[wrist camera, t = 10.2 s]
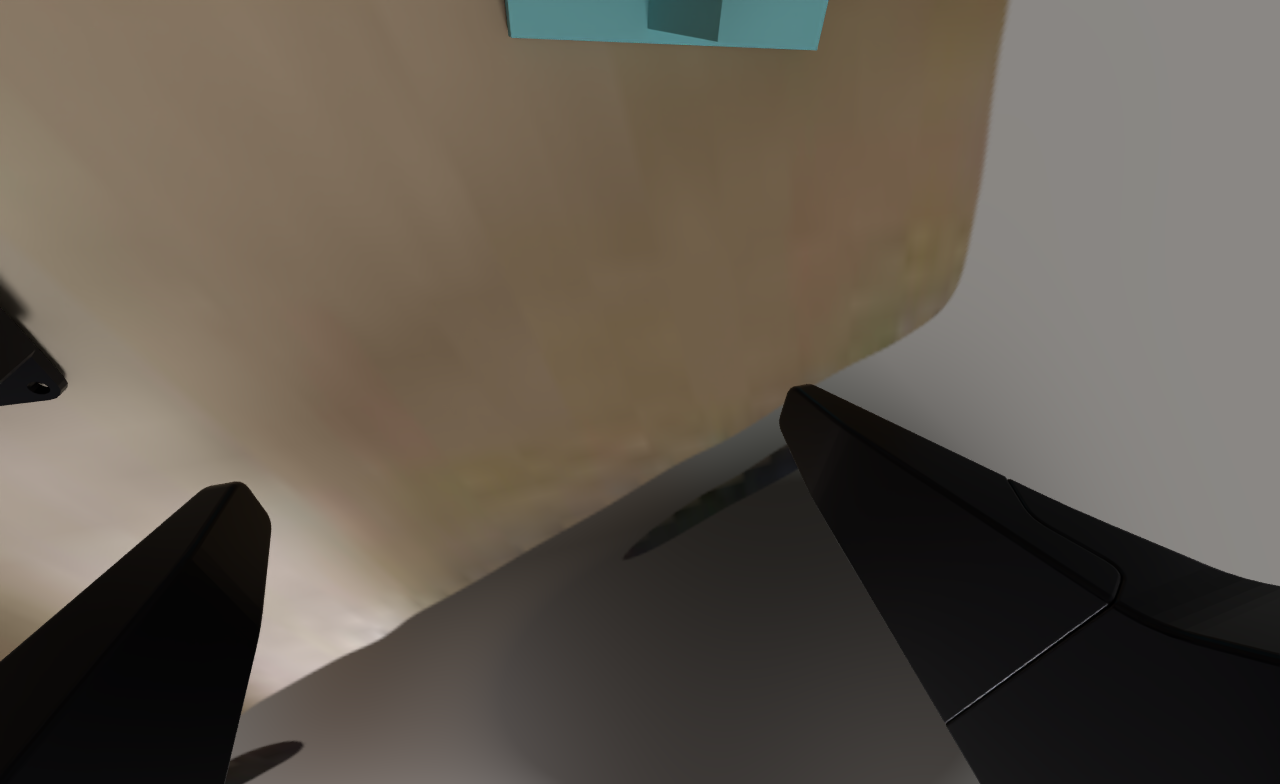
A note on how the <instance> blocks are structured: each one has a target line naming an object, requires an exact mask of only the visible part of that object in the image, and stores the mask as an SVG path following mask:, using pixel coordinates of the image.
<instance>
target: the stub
mask: <svg viewBox="0 0 1280 784" xmlns="http://www.w3.org/2000/svg"><path fill="white" fill-rule="evenodd" d="M827 4H828V0H505V5H506V15H507V25H508V35H509V36H510V37H511V38H533V39H557V40H582V41H606V42H630V43H654V44H678V45H703V46H727V47H751V48H775V49H799V50H817V47H818V43H819V39H820V34H821V30H822V26H823V22H824V17H825V13H826V9H827Z"/></svg>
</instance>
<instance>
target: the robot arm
mask: <svg viewBox="0 0 1280 784" xmlns="http://www.w3.org/2000/svg"><path fill="white" fill-rule="evenodd" d="M37 382H40V383H43V384H45V385H47V386H48V387H46V386H42V385H40V384H38V383H37ZM67 386H68V383H67V381H66V379H65V378H64V377H63V376H62V374H61V373H60V372H59V371H58V370H57V369H56V368H55V367H54V366H53V365H52V363H51V362H50V361H49V360H48V359H47V358H46V357H45V356H44V355H43V353H42V352H41V351H40V350H39V349H38V348H37V347H36V346H35V345H34V344H33V342H32V341H31V340H30V339H29V338H28V337H27V336H26V335H25V334H24V332H23V331H22V330H21V329H20V328H19V327H18V326H17V325H16V324H15V323H14V321H13V320H12V319H11V318H10V317H9V316H8V315H7V314H6V313H5V311H4V310H3V309H2V308H1V307H0V406H4V405H12V404H20V403H29V402H37V401H45V400H51V399H55V398H57V397H58V396H59V395H61V394H62V393H63V391H64V390H65V389H66V388H67ZM779 424H780V429H781V432H782V434H783V436H784V438H785V441H786V443H787V445H788V447H789V449H790V452H791V454H792V456H793V458H794V460H795V462H796V465H797V467H798V469H799V471H800V473H801V476H802V478H803V480H804V482H805V484H806V486H807V488H808V490H809V493H810V495H811V496H812V498H813V500H814V502H815V504H816V505H817V507H818V509H819V511H820V512H821V514H822V515H823V517H824V519H825V521H826V522H827V524H828V526H829V528H830V529H831V531H832V533H833V534H834V536H835V538H836V539H837V541H838V543H839V544H840V546H841V548H842V549H843V551H844V553H845V555H846V556H847V558H848V560H849V561H850V563H851V565H852V567H853V568H854V570H855V571H856V573H857V575H858V577H859V579H860V580H861V582H862V584H863V585H864V587H865V589H866V590H867V592H868V594H869V595H870V597H871V599H872V600H873V602H874V604H875V605H876V607H877V609H878V611H879V612H880V614H881V616H882V617H883V619H884V621H885V623H886V624H887V626H888V628H889V629H890V631H891V633H892V634H893V636H894V638H895V639H896V641H897V643H898V645H899V646H900V648H901V650H902V651H903V653H904V655H905V657H906V658H907V660H908V661H909V663H910V665H911V667H912V668H913V670H914V672H915V674H916V675H917V677H918V678H919V680H920V682H921V684H922V685H923V687H924V689H925V690H926V692H927V694H928V696H929V697H930V699H931V701H932V702H933V704H934V706H935V707H936V709H937V711H938V713H939V714H940V716H941V718H942V719H943V721H944V722H945V723H946V727H947V728H948V730H949V732H950V734H951V735H952V737H953V739H954V740H955V742H956V744H957V745H958V747H959V749H960V750H961V752H962V754H963V755H964V757H965V759H966V761H967V762H968V764H969V766H970V767H971V769H972V771H973V773H974V774H975V776H976V778H977V779H978V781H979V783H980V784H1280V586H1276V585H1271V584H1266V583H1262V582H1258V581H1254V580H1250V579H1245V578H1242V577H1239V576H1236V575H1233V574H1230V573H1226V572H1224V571H1221V570H1218V569H1216V568H1213V567H1210V566H1208V565H1206V564H1203V563H1201V562H1199V561H1196V560H1194V559H1191V558H1189V557H1187V556H1184V555H1182V554H1180V553H1177V552H1175V551H1172V550H1170V549H1168V548H1165V547H1163V546H1160V545H1158V544H1156V543H1153V542H1151V541H1149V540H1146V539H1144V538H1141V537H1139V536H1137V535H1134V534H1131V533H1129V532H1127V531H1125V530H1122V529H1120V528H1118V527H1115V526H1112V525H1110V524H1108V523H1106V522H1103V521H1101V520H1098V519H1096V518H1094V517H1092V516H1090V515H1087V514H1085V513H1082V512H1080V511H1078V510H1075V509H1073V508H1071V507H1068V506H1067V505H1064V504H1062V503H1060V502H1058V501H1056V500H1053V499H1051V498H1049V497H1047V496H1045V495H1043V494H1041V493H1038V492H1036V491H1034V490H1032V489H1030V488H1028V487H1026V486H1024V485H1022V484H1020V483H1018V482H1016V481H1013V480H1011V479H1008V480H1007V478H1006V477H1005V476H1003V475H1001V474H999V473H997V472H994V471H992V470H990V469H988V468H986V467H984V466H982V465H980V464H978V463H976V462H974V461H971V460H969V459H967V458H965V457H963V456H961V455H959V454H957V453H955V452H952V451H950V450H948V449H946V448H944V447H942V446H940V445H938V444H936V443H934V442H932V441H930V440H927V439H925V438H923V437H921V436H919V435H917V434H915V433H913V432H911V431H909V430H907V429H904V428H902V427H900V426H898V425H896V424H894V423H892V422H890V421H888V420H885V419H883V418H882V417H879V416H877V415H875V414H873V413H871V412H869V411H867V410H865V409H863V408H861V407H859V406H856V405H854V404H852V403H850V402H848V401H846V400H844V399H842V398H840V397H837V396H836V395H833V394H831V393H829V392H827V391H825V390H823V389H821V388H819V387H817V386H815V385H812V384H806V385H800V386H794V387H792V388H791V389H790V390H789V391H788V393H787V396H786V399H785V402H784V405H783V408H782V412H781V415H780V419H779ZM270 538H271V522H270V518H269V516H268V514H267V512H266V511H265V510H264V508H263V507H262V505H261V504H260V503H259V501H258V500H257V499H256V497H255V496H254V495H253V493H252V492H251V490H250V489H249V488H248V487H247V486H246V485H245V484H244V483H242V482H230V483H224V484H218V485H213V486H209V487H206V488H204V489H202V490H201V491H200V492H198V493H197V494H196V495H195V496H194V497H192V498H191V499H190V500H189V501H188V502H187V503H185V504H184V505H183V506H182V507H181V508H180V509H178V510H177V511H176V512H175V513H174V514H173V515H171V516H170V517H169V518H168V519H167V520H166V521H164V522H163V523H162V524H161V525H160V526H158V527H157V528H156V529H155V530H154V531H153V532H151V533H150V534H149V535H148V536H147V537H146V538H144V539H143V540H142V541H141V542H140V543H139V544H137V545H136V546H135V547H134V548H133V549H132V550H130V551H129V552H128V553H127V554H126V555H125V556H123V557H122V558H121V559H120V560H119V561H118V562H116V563H115V564H114V565H113V566H112V567H110V568H109V569H108V570H107V571H106V572H105V573H103V574H102V575H101V576H100V577H99V578H98V579H96V580H95V581H94V582H93V583H92V584H91V585H89V586H88V587H87V588H86V589H85V590H84V591H82V592H81V593H80V594H79V595H78V596H77V597H75V598H74V599H73V600H72V601H71V602H70V603H68V604H67V605H66V606H65V607H64V608H62V609H61V610H60V611H59V612H58V613H57V614H55V615H54V616H53V617H52V618H51V619H50V620H48V621H47V622H46V623H45V624H44V625H43V626H41V627H40V628H39V629H38V630H37V631H36V632H34V633H33V634H32V635H31V636H30V637H29V638H27V639H26V640H25V641H24V642H23V643H22V644H20V645H19V646H18V647H17V648H16V649H14V650H13V651H12V652H11V653H10V654H9V655H7V656H6V657H5V658H4V659H3V660H2V661H0V784H224V783H225V779H226V775H227V771H228V766H229V762H230V758H231V754H232V749H233V745H234V741H235V737H236V732H237V728H238V724H239V720H240V715H241V711H242V707H243V703H244V698H245V694H246V690H247V686H248V681H249V677H250V673H251V669H252V665H253V660H254V656H255V652H256V648H257V643H258V638H259V633H260V628H261V621H262V614H263V605H264V595H265V586H266V576H267V567H268V557H269V548H270Z"/></svg>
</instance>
